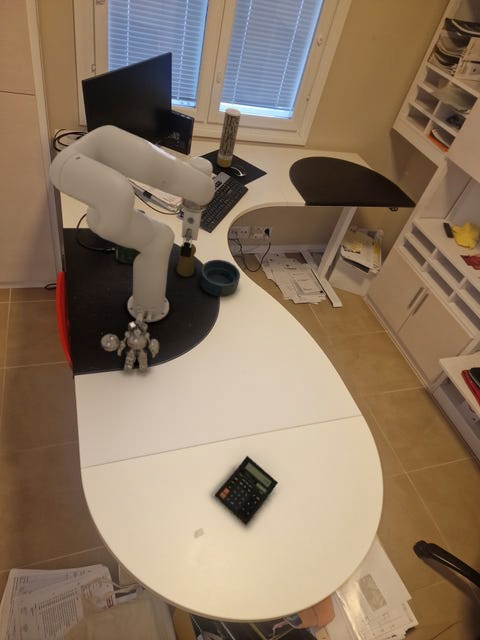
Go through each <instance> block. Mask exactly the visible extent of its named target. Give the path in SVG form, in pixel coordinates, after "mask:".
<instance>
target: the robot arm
mask: <svg viewBox="0 0 480 640" xmlns="http://www.w3.org/2000/svg"><path fill="white" fill-rule="evenodd" d="M213 169H214V167H213V164H212V162H210V161H209V159H206V158H204V157H200V156H194V157H190V158H189V159H188V160H187V161H182V160H181V159H179V158H178V157H175V156H174V155H172V154H171V153H168V152H166V151H165V150H164V149H162V148H160V147H158V146H157V145H155V144H154V143H152V142H150V141H148V140H147V139H145V138H143V137H140V136H138V135H136V134H133V133H130V132H129V131H127V130H124V129H122V128H119V127H117V126H115V125H111V124H110V125H109V124H107V125H103V126H100V127H97V128H95V129H93V130H91V131H90V132H89V131H88V132H87V133H86V134H85V135H83V136H81V137H80V138H79V139H77V140H75V141H73V142H72V143H71V144H69V145H68V146H66V147H65V148H63V149H62V150H61V151H60V152H58V153H57V155H55V156H54V159H53V160H52V161H51V164H50V169H49V178H50V182H51V183H52V185H53V186H54V187H55V188H56V189H57V190H58V191H59V192H60V193H61V194H63V195H66V196H68V197H70V198H72V199H74V200H76V201H79V202H80V203H82V204H84V205H86V206H88V207H87V209H86V213H85V221H86V224H87V227H88V228H89V229H90V231H91V232H92V233H94V234H96V235H98V237H100V238H102V239H104V240H106V241H109V242H111V243H114V244H116V245H117V244H118V245H121V246H124V247H127V248H134V249H136V250H137V251H139V252H140V254H139V255H138V256H137V257H136V258H135V260H134V264H132V274H133V275H132V295H131V296H130V297H129V299H128V301H127V311H128V313H129V314H130V316H131V317H132V318H134V319H135V324H136V325H137V326H139V325H140V324H141V323H142V322H144V323H153V322H158V321H160V320H162V319H164V318H166V316H167V315H168V314H169V311H170V303H169V301H168V299H167V297H166V290H167V280H168V270H169V262H170V258H171V257H170V256H171V253H172V250H173V247H174V243H175V239H176V238H175V235H176V234H175V232H174V231H173V228H172V227H170V226H169V225H168V224H166V223H165V222H163V221H161V220H159V219H157V218H155V217H153V216H151V215H148V214H146V213H145V214H144V213H142V212H140V211H138V210H139V209H137V208H135V204H136V203H135V202H136V193H135V190H134V187H133V185H132V183H131V182H130V180H132V181H135V182H138V183H141V184H144V185H146V186H149V187H151V188H154V189H156V190H158V191H161V192H163V193H166V194H168V195H172V196H176V197H179V198H181V202H180V205H181V206H182V208H183V210H184V211H183V217H182V224H181V225H182V226H181V238H182V244H183V245H182V244H181V245H182V247H181V246H180V247H181V251H180V253H179V254H180V255H179V257H180V256H183V257H189V258H190V256H191V250H192V247H191V245H192V244H193V241H197V240H198V237H199V232H200V226H201V222H202V221H201V220H202V213H203V211H205V210H206V209H207V204H209V203H210V202H211V201H212V199H213V198H214V196H215V193H216V183H215V180H214V179H213V178H212V176H213ZM128 178H129V179H130V180H129V179H128ZM136 209H137V210H136Z"/></svg>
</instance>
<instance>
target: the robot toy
mask: <svg viewBox="0 0 480 640" xmlns="http://www.w3.org/2000/svg"><path fill="white" fill-rule="evenodd" d="M127 330H128V331H125V332H124V338H123V340H120V337H118V335H117V334H114V333H110V332H109V333H106V334H104V335H103V336H101V338H100V347H101V349H102V350H103V351H105V352H108V353H113V352H115V351H117V356H119V357H122V352H123V350H124V349H125V348H126V347H128V349H127V351H126V352H125V362H124V367H123V371H126V372H128V373H132V372H133V370H134V366H135V365H134V363H135V362H136V359H137V362H138V371H139V373H147V372H148V371H149V368H148V366H149V365H148V351H147V350H146V349H145V348H146V347H147V348H148V349H149V351H150V353H151V358H155V357H156V355H158V353H159V350H160V341H159V340H158V339H156V338H151V339H150V332H148V330H149V326H148V324H147V323H146V322H144V321H143V322H142V323H141V324H140V325H138V324H136V321H131V322H129V323H128V324H127Z"/></svg>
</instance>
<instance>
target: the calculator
mask: <svg viewBox="0 0 480 640" xmlns="http://www.w3.org/2000/svg"><path fill="white" fill-rule="evenodd" d="M278 484H279V482H278V481H277V480H276V479H275V478H274V477H273V476H271V475H270V474H269V473H268V472H266V470H264V469H263V468H262V467H261V466H260V465H259V464H257V462H255V461H254V460H253V459H252V458H251V457H249V456H248V455H246V457H244V459H243V460H242V461H241V463H240V464H239V465H238V467H237V468H236V469H235V471H234V472H233V473H232V474H231V475H230V476H229V478H228V479H227V480H226V481H225V482H224V483H223V485H222V486H221V487H220V488H219V489H218V490H217V491H216V492H215V494H214V497H215V498H216V499H218V501H220V502H221V503H222V504H223V506H225V507H226V508H227V509H228V510H229V511H230V512H231V513H233V515H235V516H236V518H237V519H239V520H240V521H241V522H242V523H243V524H244V525H245V526H247V525H248V524H249V522H250V521H251V520H252V519H253V517H254V516H255V515H256V513H257V512H258V510H259V509H260V508H261V507H262V505H263V504H264V503H265V502H266V501H267V498H268V497H269V496H270V495H271V493H272V492H273V491H274V490H275V488H276V486H277V485H278Z"/></svg>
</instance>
